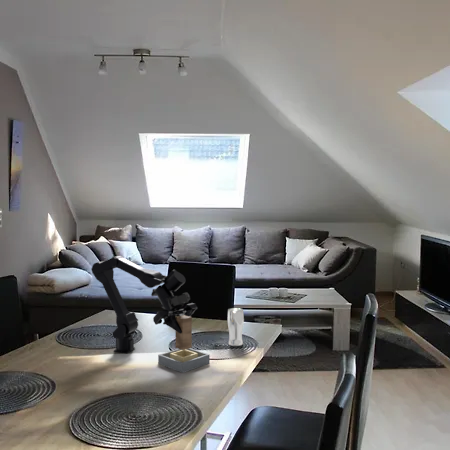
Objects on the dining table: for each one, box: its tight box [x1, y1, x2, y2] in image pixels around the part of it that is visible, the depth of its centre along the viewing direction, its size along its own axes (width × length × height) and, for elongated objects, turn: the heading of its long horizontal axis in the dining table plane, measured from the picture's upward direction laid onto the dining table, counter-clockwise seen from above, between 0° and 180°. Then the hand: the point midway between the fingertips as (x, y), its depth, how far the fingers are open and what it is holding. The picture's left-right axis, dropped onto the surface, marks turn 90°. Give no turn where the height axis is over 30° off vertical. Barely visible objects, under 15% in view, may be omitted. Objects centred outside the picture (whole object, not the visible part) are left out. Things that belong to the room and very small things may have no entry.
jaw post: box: [175, 315, 193, 350], centre depth 210 cm, size 4×4×12 cm
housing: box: [157, 348, 211, 374], centre depth 211 cm, size 14×14×4 cm
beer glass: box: [227, 307, 245, 347], centre depth 234 cm, size 7×7×15 cm
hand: (185, 331), depth 209 cm, fingers closed on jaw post, 4 cm apart
